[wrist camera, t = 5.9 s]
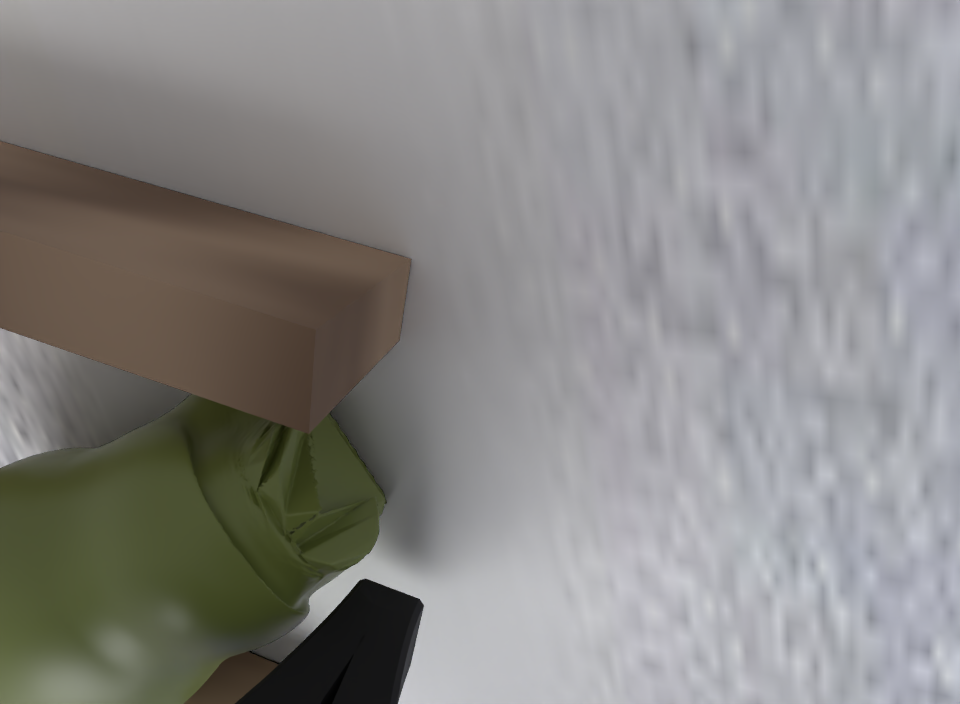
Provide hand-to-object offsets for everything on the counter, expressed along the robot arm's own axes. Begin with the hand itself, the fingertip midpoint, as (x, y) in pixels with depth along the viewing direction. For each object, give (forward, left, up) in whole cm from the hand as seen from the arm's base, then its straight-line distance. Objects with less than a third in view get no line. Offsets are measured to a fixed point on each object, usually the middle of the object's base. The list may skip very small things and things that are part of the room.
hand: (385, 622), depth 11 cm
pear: (+5, 0, -2) cm, 5 cm away
